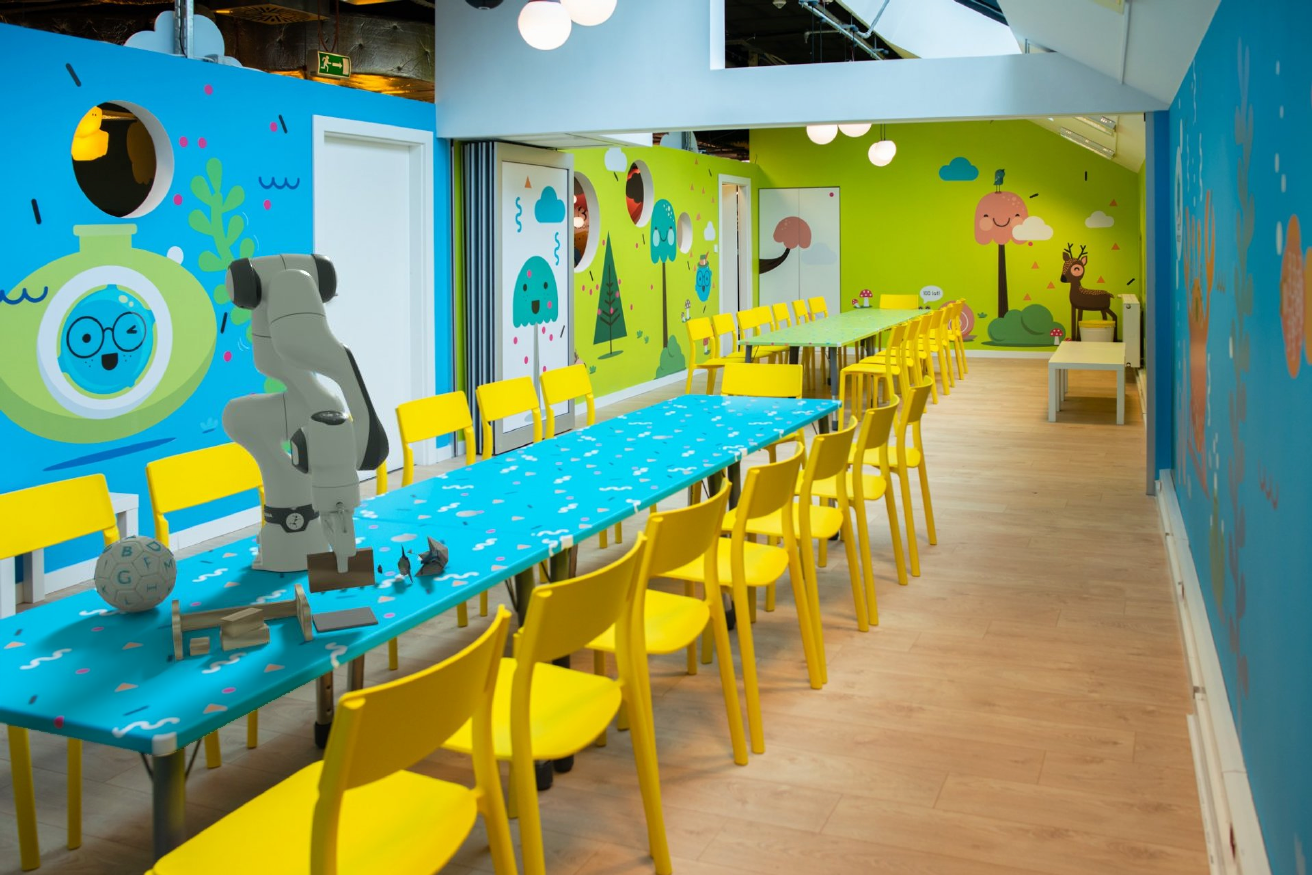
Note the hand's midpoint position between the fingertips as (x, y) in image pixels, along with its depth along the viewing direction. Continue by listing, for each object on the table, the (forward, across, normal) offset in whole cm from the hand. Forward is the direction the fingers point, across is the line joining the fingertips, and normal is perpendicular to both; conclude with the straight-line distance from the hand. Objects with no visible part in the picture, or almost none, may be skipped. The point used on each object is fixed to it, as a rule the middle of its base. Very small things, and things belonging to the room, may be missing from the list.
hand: (341, 569), depth 218 cm
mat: (+10, 0, 0) cm, 10 cm away
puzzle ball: (+10, +25, +36) cm, 45 cm away
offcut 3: (+10, -5, +18) cm, 22 cm away
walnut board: (+4, 0, 0) cm, 4 cm away
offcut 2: (+8, -6, +18) cm, 21 cm away
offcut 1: (+10, -5, +26) cm, 29 cm away
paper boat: (+10, +27, -22) cm, 37 cm away
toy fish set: (+10, +20, -12) cm, 25 cm away
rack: (+10, 0, +18) cm, 21 cm away
